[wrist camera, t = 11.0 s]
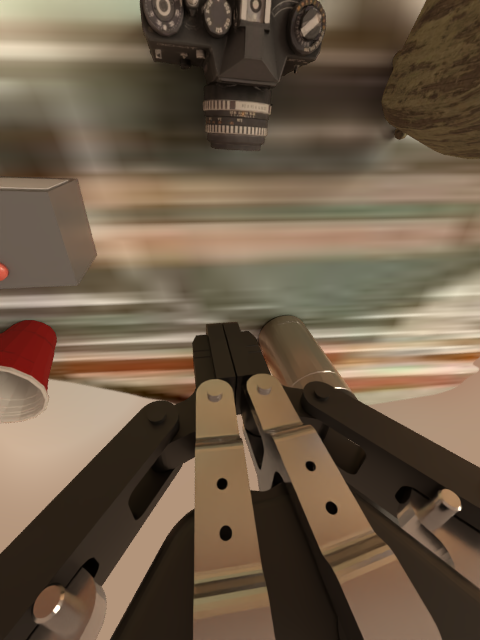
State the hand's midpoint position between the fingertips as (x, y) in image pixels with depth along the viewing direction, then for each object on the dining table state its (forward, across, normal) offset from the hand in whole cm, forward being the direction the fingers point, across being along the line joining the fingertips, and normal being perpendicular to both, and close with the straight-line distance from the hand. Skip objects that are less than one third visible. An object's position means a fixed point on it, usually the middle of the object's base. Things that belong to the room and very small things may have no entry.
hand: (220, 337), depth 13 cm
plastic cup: (+27, +24, +18) cm, 40 cm away
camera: (+27, -4, -13) cm, 30 cm away
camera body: (+27, +19, +1) cm, 33 cm away
